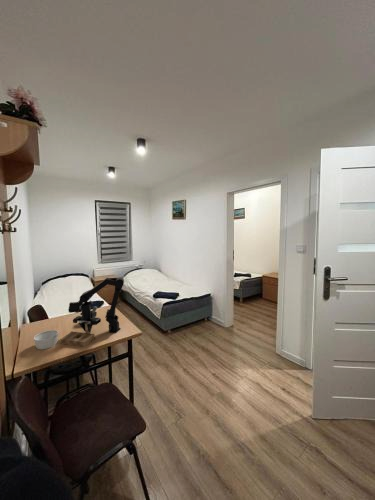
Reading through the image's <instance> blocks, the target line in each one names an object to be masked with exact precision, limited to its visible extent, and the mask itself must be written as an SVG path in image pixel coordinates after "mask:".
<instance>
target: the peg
mask: <svg viewBox="0 0 375 500" xmlns="http://www.w3.org/2000/svg"><path fill="white" fill-rule="evenodd" d="M87 324H89V322H87V323H85V331H84V333H90V334H91V332H89V331H88V327H87Z"/></svg>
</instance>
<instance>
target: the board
mask: <svg viewBox="0 0 375 500" xmlns="http://www.w3.org/2000/svg"><path fill="white" fill-rule="evenodd" d="M59 340H60V344H62V345H63V344H64V345H71V346H78V347H84V348H85V347H86V346H87V345H89V343H91V342H92V341H93V340H95V333H91V332H90V333H85V332H81V331H80V332H79V331H70V332H69V333H67V334H65V336H63V337H62V338H60V339H59Z"/></svg>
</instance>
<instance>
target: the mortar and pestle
mask: <svg viewBox="0 0 375 500" xmlns="http://www.w3.org/2000/svg"><path fill="white" fill-rule="evenodd" d="M97 309H98V306H93V308H92V310H91V311H92V312H97ZM94 318H96V317H95V316H93V318H91V319H94ZM86 323H87V322H86Z"/></svg>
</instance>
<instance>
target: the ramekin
mask: <svg viewBox="0 0 375 500" xmlns="http://www.w3.org/2000/svg"><path fill="white" fill-rule="evenodd" d="M58 340H59V331H58V330H56V329H49V330H45V331H44V330H43V331H42V332H39V333H37V334H35V335H34V337H33V342H34V345H35V348H36V349H38V350H47V349H48V350H49V349H50V348H52V347H54V346H56V345H57V344H58Z"/></svg>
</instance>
